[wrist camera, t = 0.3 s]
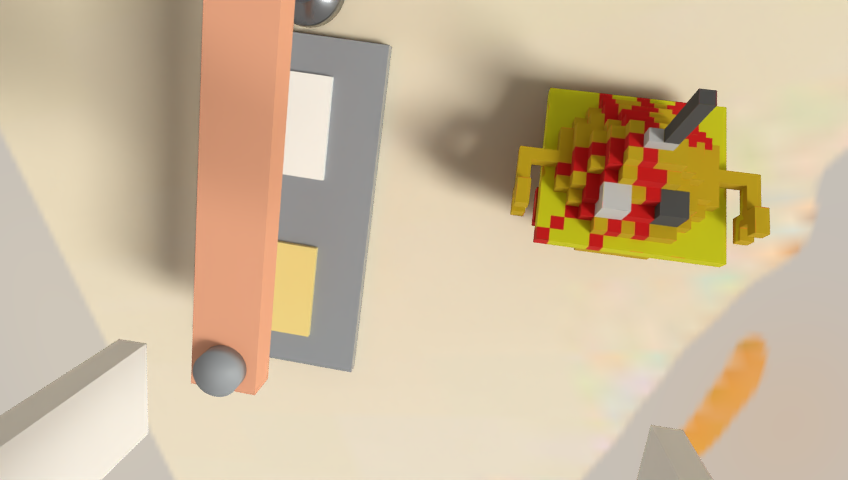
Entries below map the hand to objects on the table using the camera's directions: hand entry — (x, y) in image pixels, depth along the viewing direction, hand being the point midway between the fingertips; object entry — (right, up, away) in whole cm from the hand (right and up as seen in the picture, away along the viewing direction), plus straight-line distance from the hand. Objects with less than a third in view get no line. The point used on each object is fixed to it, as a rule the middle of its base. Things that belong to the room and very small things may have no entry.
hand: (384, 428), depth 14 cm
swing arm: (-8, +10, +23) cm, 27 cm away
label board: (-9, +7, +26) cm, 28 cm away
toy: (+14, +10, +23) cm, 28 cm away
